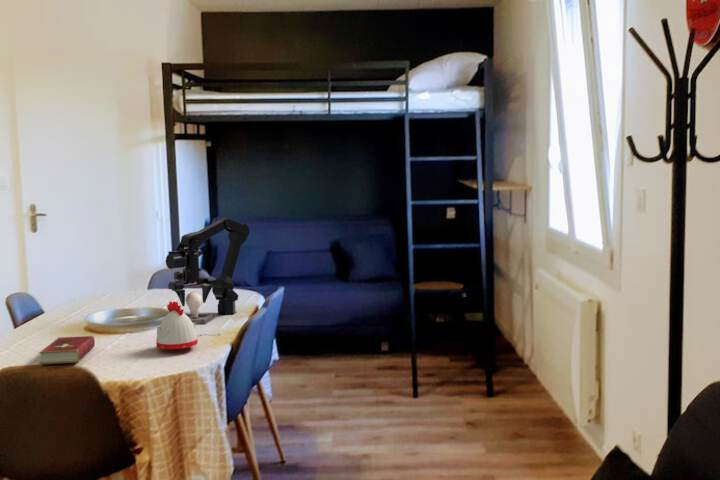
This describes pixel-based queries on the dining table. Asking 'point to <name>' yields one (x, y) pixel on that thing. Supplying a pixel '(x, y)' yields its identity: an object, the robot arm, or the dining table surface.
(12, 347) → the dining table surface
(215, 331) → the dining table surface
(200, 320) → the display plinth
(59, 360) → the hardcover book
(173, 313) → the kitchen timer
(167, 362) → the dining table surface
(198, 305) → the light bulb
